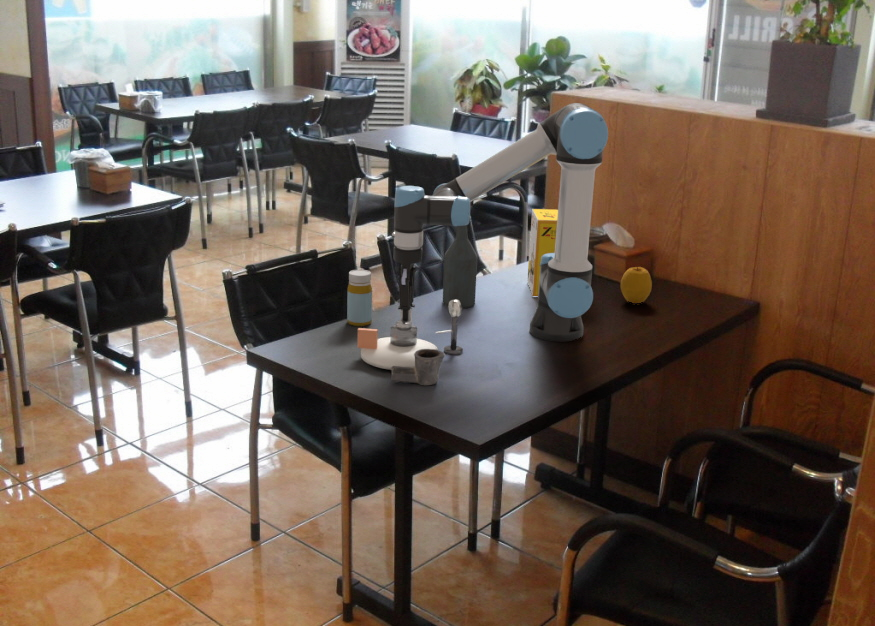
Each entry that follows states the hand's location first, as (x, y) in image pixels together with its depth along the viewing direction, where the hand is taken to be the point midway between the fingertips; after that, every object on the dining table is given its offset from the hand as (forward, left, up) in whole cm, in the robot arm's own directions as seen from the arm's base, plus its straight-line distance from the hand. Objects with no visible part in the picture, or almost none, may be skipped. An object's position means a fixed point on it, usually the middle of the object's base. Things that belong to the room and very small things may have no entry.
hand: (405, 331), depth 260 cm
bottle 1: (+16, -16, -4) cm, 23 cm away
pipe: (-7, +25, -5) cm, 26 cm away
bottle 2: (-10, -40, -4) cm, 41 cm away
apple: (-64, -54, -4) cm, 84 cm away
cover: (0, +4, -2) cm, 5 cm away
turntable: (0, +10, -3) cm, 11 cm away
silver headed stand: (-12, +2, -4) cm, 13 cm away
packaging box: (-39, -61, -5) cm, 72 cm away
